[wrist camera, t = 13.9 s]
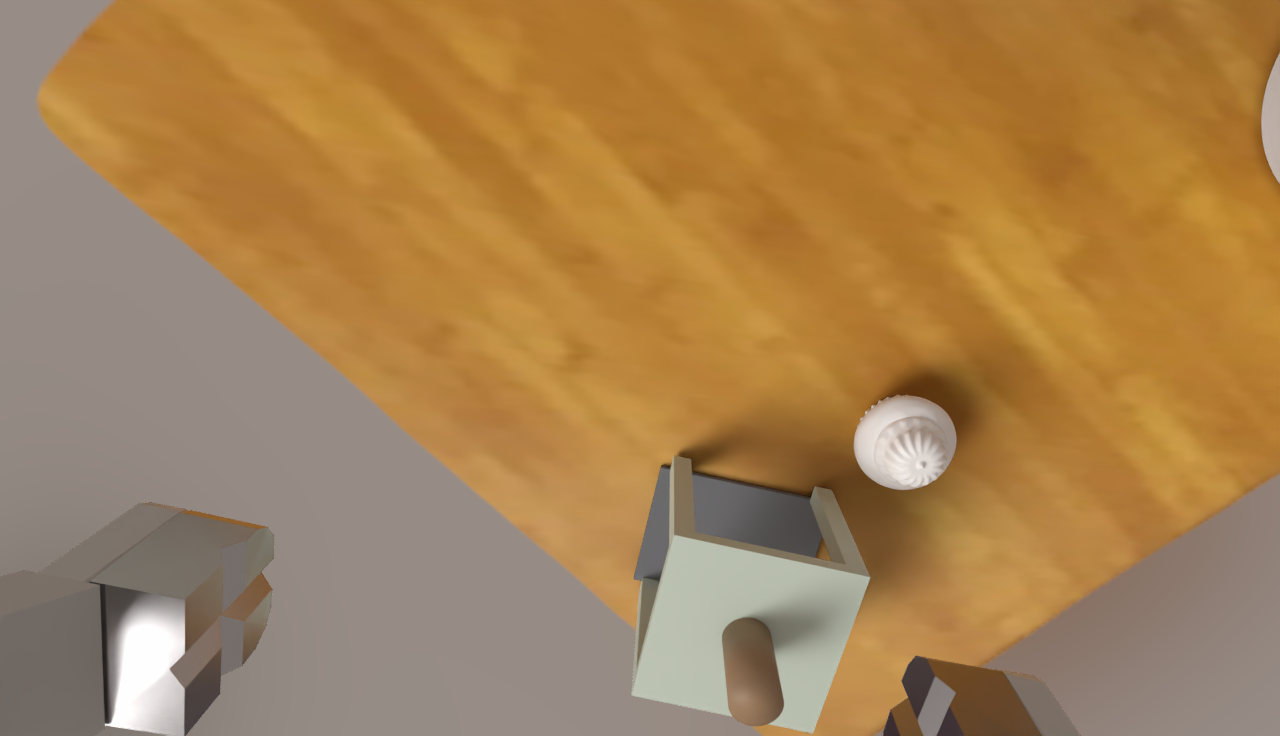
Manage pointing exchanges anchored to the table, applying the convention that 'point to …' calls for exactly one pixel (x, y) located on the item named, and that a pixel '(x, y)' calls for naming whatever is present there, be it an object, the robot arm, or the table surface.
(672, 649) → the cover
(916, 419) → the muffin
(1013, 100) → the table surface
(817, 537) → the mat
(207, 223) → the table surface
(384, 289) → the table surface
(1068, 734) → the robot arm
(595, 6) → the table surface
